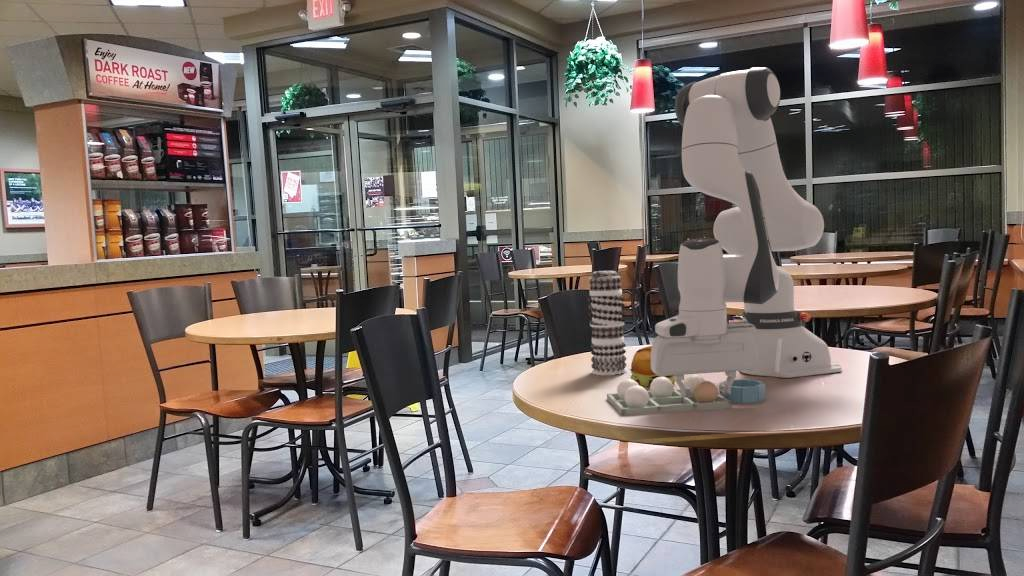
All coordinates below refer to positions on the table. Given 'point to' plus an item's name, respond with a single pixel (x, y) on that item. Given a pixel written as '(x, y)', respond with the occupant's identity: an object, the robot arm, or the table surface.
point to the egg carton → (660, 397)
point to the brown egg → (705, 392)
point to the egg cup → (746, 391)
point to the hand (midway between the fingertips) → (705, 395)
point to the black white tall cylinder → (607, 323)
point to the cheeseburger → (644, 368)
